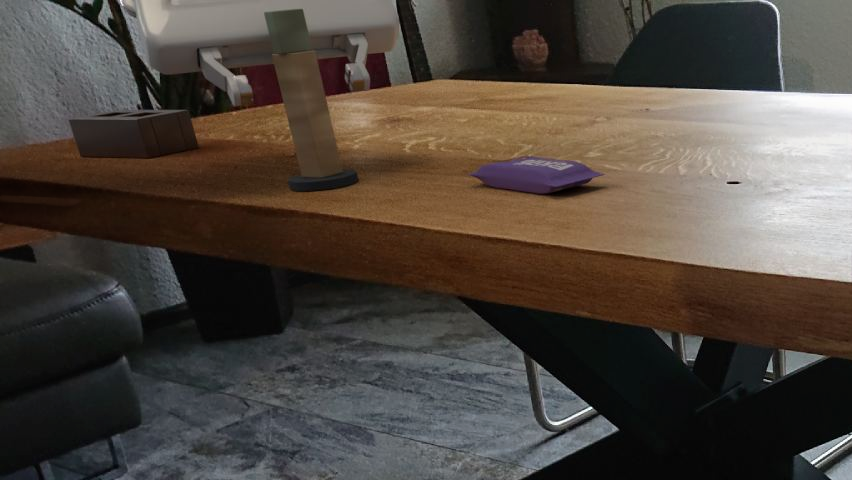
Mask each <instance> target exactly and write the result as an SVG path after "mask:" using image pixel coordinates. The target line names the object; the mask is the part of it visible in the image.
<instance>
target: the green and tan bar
mask: <svg viewBox="0 0 852 480" xmlns="http://www.w3.org/2000/svg"><path fill="white" fill-rule="evenodd" d="M264 16H265V20H266V24H267V28H268V32H269V36H270V40H271V44H272V48H273V52H274V54H272V57H273V61H274V64H273V65H274V69H275V74H276V77H277V82H278V86H279V89H280V95H281V97H282V102H283V105H284V111H285V114H286V117H287V118H286V119H287V122H288V127H289V131H290V135H291V138H292V143H293V147H294V151H295V154H296V159H297V162H298V167H299V170H300V174H301V175H302V177H307V178H325V177H328V176H332V175H336V174H340V173H343V170H342V169H343V166H342V162H341V158H340V153H339V149H338V145H337V141H336V136H335V131H334V127H333V122H332V118H331V114H330V110H329V105H328V101H327V97H326V91H325V88H324V84H323V79H322V75H321V70H320V66H319V62H318V59H317V57H316V53H315V51H314V50H312V46H311V42H310V37H309V33H308V29H307V24H306V20H305V16H304V11H303V9H290V10H280V11H270V12H264ZM308 50H312V51H308Z"/></svg>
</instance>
